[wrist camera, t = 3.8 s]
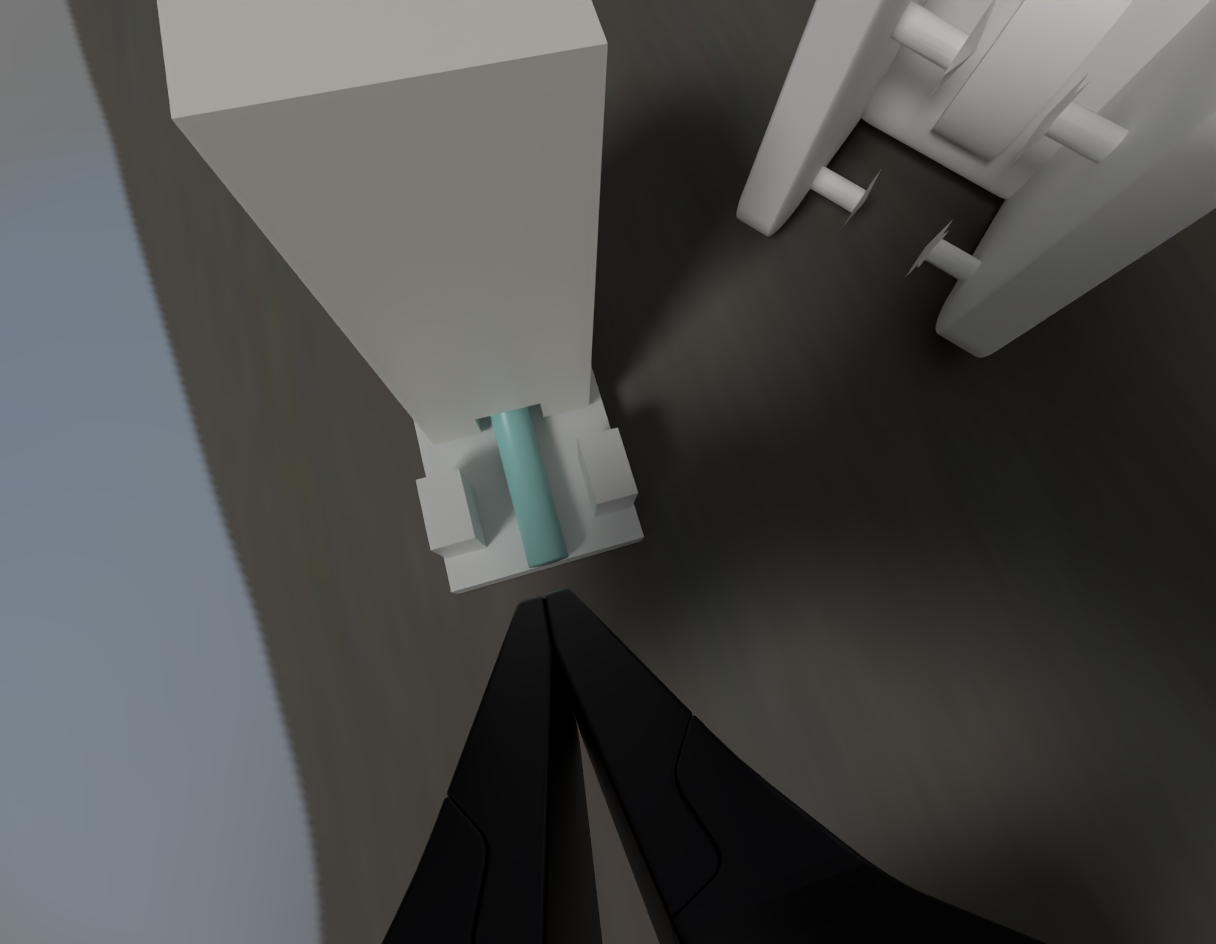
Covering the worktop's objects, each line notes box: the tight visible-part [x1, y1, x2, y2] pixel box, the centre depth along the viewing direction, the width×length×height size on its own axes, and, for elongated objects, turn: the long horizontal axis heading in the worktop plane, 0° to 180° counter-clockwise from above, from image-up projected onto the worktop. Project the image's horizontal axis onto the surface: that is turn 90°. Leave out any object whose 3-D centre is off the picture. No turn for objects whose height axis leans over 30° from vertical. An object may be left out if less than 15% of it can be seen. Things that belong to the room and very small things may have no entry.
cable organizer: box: [736, 0, 1216, 358], centre depth 17 cm, size 15×11×12 cm
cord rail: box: [414, 367, 644, 594], centre depth 18 cm, size 24×6×5 cm, turn 16°
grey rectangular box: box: [157, 0, 607, 445], centre depth 13 cm, size 5×5×12 cm
